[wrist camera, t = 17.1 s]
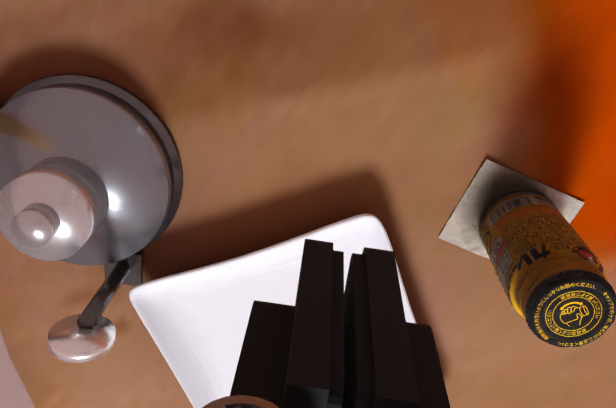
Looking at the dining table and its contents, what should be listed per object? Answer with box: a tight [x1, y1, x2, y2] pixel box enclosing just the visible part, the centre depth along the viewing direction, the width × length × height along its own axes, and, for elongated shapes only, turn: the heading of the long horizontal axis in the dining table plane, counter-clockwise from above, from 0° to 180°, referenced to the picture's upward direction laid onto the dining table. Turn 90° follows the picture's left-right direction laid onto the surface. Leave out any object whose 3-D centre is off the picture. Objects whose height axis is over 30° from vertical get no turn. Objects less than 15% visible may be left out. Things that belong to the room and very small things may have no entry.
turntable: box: [0, 83, 174, 265], centre depth 41 cm, size 18×14×6 cm
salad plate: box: [129, 214, 416, 408], centre depth 49 cm, size 21×21×3 cm
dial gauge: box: [48, 251, 143, 363], centre depth 43 cm, size 3×4×11 cm
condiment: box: [438, 159, 616, 347], centre depth 39 cm, size 7×8×12 cm
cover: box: [0, 157, 109, 261], centre depth 41 cm, size 6×6×6 cm
